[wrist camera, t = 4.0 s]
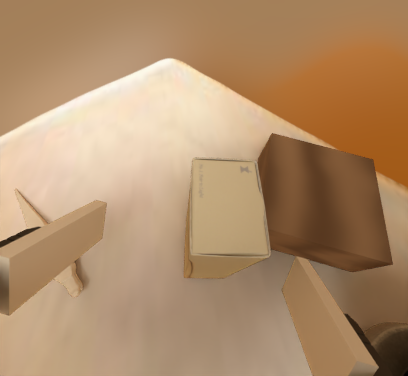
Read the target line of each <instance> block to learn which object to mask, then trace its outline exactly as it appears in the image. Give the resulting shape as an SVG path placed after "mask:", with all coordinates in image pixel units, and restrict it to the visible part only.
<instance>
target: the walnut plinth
mask: <svg viewBox="0 0 408 376" xmlns="http://www.w3.org/2000/svg"><path fill="white" fill-rule="evenodd" d="M258 170H259V176H260V182H261V188H262V194H263V199H264V205H265V212H266V219H267V227H268V233H269V242H270V249H273V250H277V251H280V252H284V253H287V254H291V255H294V256H298V257H301V258H305V259H308V260H312V261H315V262H319V263H322V264H326V265H329V266H333V267H336V268H340V269H343V270H347V271H350V272H356V271H361V270H366V269H372V268H377V267H382V266H387V265H392V264H393V262H392V257H391V252H390V247H389V241H388V236H387V231H386V225H385V220H384V215H383V209H382V204H381V199H380V193H379V188H378V183H377V177H376V172H375V167H374V162H373V159H369V158H365V157H361V156H357V155H354V154H350V153H346V152H342V151H338V150H335V149H331V148H327V147H323V146H319V145H315V144H312V143H308V142H304V141H300V140H296V139H292V138H289V137H285V136H281V135H277V134H273V133H272V134H271V136H270V138H269V140H268V141H267V143H266V145H265V147H264V149H263V151H262V153H261V155H260V157H259V159H258Z"/></svg>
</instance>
